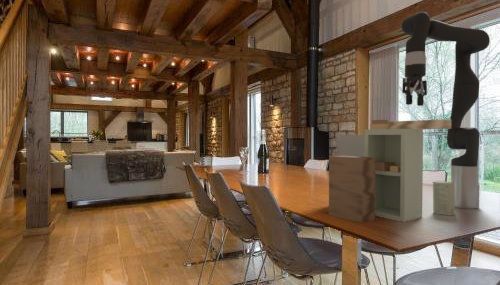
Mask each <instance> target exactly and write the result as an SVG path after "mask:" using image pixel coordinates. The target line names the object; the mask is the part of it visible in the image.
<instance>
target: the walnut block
mask: <svg viewBox="0 0 500 285" xmlns="http://www.w3.org/2000/svg"><path fill="white" fill-rule="evenodd" d="M328 215H329V216H331V217H337V218H340V219H344V220H348V221H353V222H357V223H360V224H361V223H366V222H370V221H374V219H376V216H375V157H361V156H344V155H343V156H337V155H328Z"/></svg>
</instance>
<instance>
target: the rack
mask: <svg viewBox="0 0 500 285" xmlns="http://www.w3.org/2000/svg"><path fill="white" fill-rule="evenodd" d="M388 122H389V120H388V119H371V123H370V124H369V129H364V135H365V149H364V157H375V217H378V218H379V217H380V218H383V217H384V219H388V220H393V221H398V222H401V221H402V223H407V222H410V220H411V221H414V220H417V218H418V219H420V218H421V217H422V218H423V187H424V186H423V184H424V183H423V179H424V177H423V176H424V174H423V173H424V172H423V171H424V170H423V169H424V163H423V162H424V161H423V160H424V129H388ZM422 218H421V219H422ZM406 221H407V222H406Z"/></svg>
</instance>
